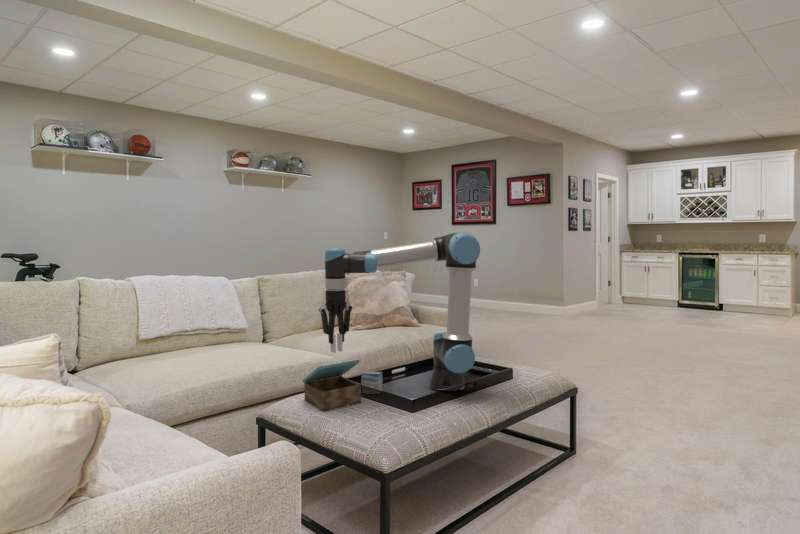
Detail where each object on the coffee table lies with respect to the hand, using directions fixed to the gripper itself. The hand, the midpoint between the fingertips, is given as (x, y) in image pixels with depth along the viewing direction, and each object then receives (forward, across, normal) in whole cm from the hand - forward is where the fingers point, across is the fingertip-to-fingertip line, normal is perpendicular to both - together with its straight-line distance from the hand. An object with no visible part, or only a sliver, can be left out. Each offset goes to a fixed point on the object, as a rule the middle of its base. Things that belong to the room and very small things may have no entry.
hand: (336, 351), depth 198 cm
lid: (+9, 0, -5) cm, 10 cm away
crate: (+20, 0, -4) cm, 21 cm away
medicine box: (+21, -18, -4) cm, 28 cm away
